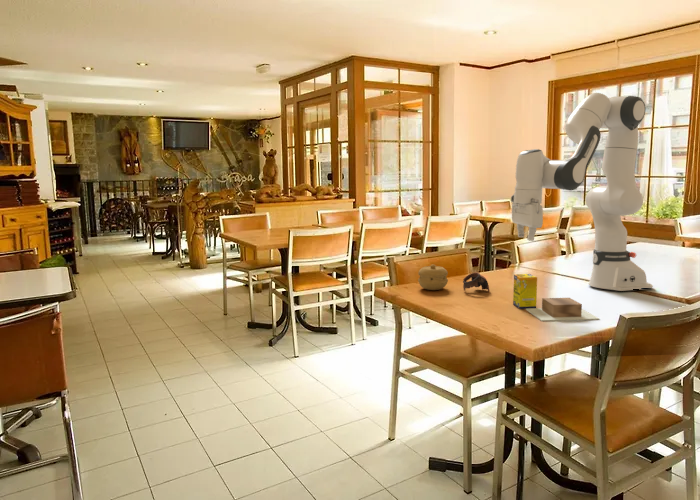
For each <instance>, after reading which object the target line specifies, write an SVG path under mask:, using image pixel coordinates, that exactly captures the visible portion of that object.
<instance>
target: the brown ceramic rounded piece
mask: <svg viewBox="0 0 700 500" xmlns="http://www.w3.org/2000/svg"><path fill="white" fill-rule="evenodd" d="M470 279H471V280H470ZM462 283H463V286H462V289H463V291H464V292H466V289H470V288H473V287H475V288H480V287H481V290H483V291H484V290H487V292H488V293H489V292H491V291H490V286H489V282H488V280H487V278H486V277H485V276H483V275H481V274H480V272H477V271H476V272H471V273H470V274H468V275H466V276H465V277H464V278H463V280H462Z"/></svg>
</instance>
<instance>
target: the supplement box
mask: <svg viewBox="0 0 700 500" xmlns="http://www.w3.org/2000/svg"><path fill="white" fill-rule="evenodd" d="M537 290H538V277H537V276H535V275H532V274H531V273H521V274H520V273H517V274H513V293H512V294H513V297H512V301H513V302H512V305H513V306H515V307H516V308H518V309H519V310H526V309H527V308H537V296H538V295H537V293H538V291H537Z"/></svg>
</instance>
